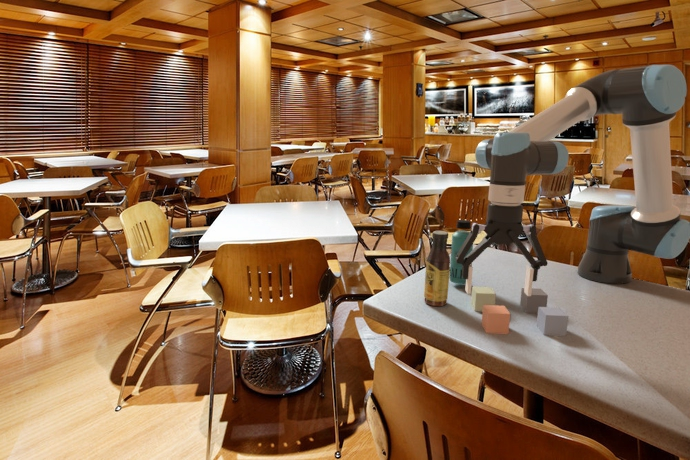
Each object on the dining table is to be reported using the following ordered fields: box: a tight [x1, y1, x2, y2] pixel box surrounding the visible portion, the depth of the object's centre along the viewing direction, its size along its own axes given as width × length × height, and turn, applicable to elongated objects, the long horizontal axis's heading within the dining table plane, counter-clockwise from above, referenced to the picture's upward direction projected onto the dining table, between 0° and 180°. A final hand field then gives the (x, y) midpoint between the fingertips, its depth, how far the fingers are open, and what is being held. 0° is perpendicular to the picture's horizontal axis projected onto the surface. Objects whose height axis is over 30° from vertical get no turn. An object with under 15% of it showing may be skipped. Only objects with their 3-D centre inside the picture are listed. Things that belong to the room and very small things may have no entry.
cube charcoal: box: [519, 287, 549, 314], centre depth 120 cm, size 5×5×5 cm
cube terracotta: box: [481, 304, 511, 335], centre depth 108 cm, size 5×5×5 cm
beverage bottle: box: [449, 219, 474, 285], centre depth 136 cm, size 6×7×20 cm
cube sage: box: [470, 286, 497, 312], centre depth 121 cm, size 5×5×5 cm
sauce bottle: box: [423, 230, 451, 307], centre depth 122 cm, size 7×6×20 cm
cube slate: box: [536, 306, 569, 337], centre depth 107 cm, size 5×5×5 cm
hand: (497, 293), depth 107 cm, fingers open, 13 cm apart
